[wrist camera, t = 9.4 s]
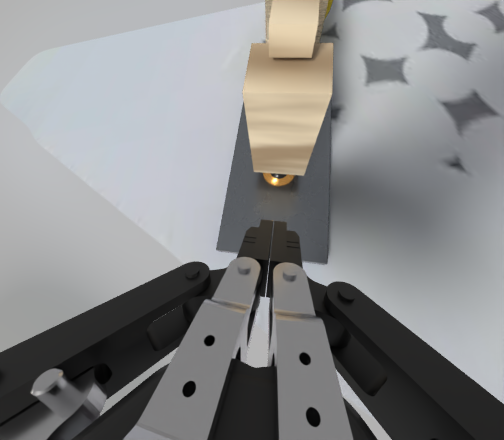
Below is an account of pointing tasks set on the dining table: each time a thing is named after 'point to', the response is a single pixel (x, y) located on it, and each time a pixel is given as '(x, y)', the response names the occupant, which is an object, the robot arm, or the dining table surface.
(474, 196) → the dining table surface
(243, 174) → the bolt plate
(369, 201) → the dining table surface
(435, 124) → the dining table surface
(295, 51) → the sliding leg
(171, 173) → the dining table surface
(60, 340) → the robot arm
